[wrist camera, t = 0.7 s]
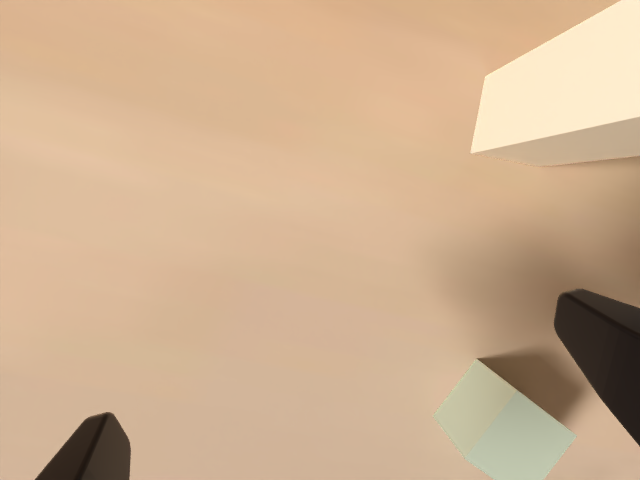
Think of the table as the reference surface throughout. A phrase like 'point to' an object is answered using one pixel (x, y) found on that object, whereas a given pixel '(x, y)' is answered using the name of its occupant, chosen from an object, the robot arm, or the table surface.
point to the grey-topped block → (568, 96)
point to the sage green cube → (501, 427)
